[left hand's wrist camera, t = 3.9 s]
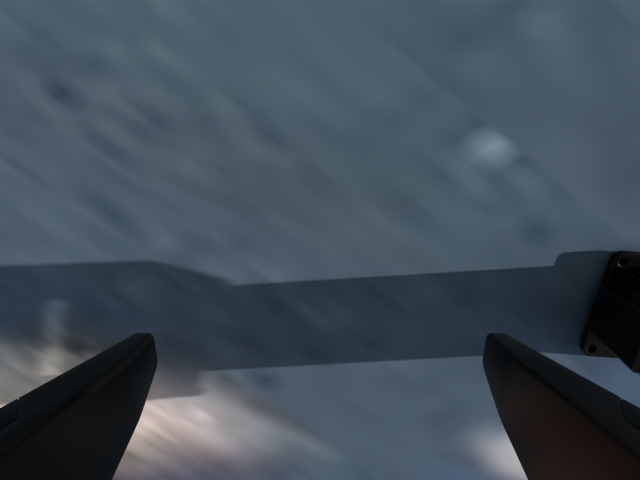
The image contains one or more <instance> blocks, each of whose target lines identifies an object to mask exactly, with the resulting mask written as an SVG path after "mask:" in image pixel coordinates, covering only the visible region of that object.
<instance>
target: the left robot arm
mask: <svg viewBox="0 0 640 480" xmlns="http://www.w3.org/2000/svg"><path fill="white" fill-rule="evenodd" d="M622 258H624V260H623V261H622V262H621V263H619V261H620V260H621V259H622ZM591 345H592V347H590V348H589V346H591ZM580 349H581V350H582V351H583V352H584V353H585V354H586V355H588V356H597V357H611V358H619V359H620V360H621V361H622V362H623V363H624V364H625V365H626V366H627V367H628V368H629V369H630V370H631V371H632V372H634V373H638V374H639V375H640V252H631V251H618V252H615V253H614V254H613V255H612V256H611V258H610V260H609V263H608V266H607V269H606V272H605V274H604V277H603V280H602V283H601V286H600V289H599V291H598V294H597V296H596V299H595V302H594V305H593V308H592V311H591V313H590V316H589V319H588V322H587V325H586V328H585V331H584V334H583V337H582V340H581V343H580ZM156 367H157V355H156V348H155V342H154V337H153V335H152V334H151V333H136V334H134V335H132V336H130V337H129V338H127V339H125V340H123V341H121V342H119V343H118V344H116V345H114V346H112V347H110V348H109V349H107V350H105V351H103V352H101V353H100V354H98V355H96V356H94V357H92V358H90V359H89V360H87V361H85V362H83V363H81V364H80V365H78V366H76V367H74V368H72V369H71V370H69V371H67V372H65V373H63V374H61V375H60V376H58V377H56V378H54V379H52V380H51V381H49V382H47V383H45V384H43V385H42V386H40V387H38V388H36V389H34V390H33V391H31V392H29V393H27V394H25V395H23V396H22V397H20V398H19V400H18V399H16V400H14V401H12V402H11V403H9V404H7V405H5V406H3V407H2V408H0V480H112V478H113V476H114V474H115V472H116V469H117V467H118V465H119V463H120V461H121V458H122V456H123V454H124V452H125V450H126V448H127V445H128V443H129V441H130V439H131V437H132V435H133V432H134V430H135V428H136V426H137V423H138V421H139V419H140V416H141V413H142V411H143V408H144V405H145V401H146V398H147V395H148V392H149V389H150V386H151V383H152V380H153V377H154V374H155V371H156ZM483 367H484V371H485V374H486V377H487V380H488V383H489V386H490V389H491V392H492V395H493V398H494V401H495V405H496V408H497V411H498V413H499V416H500V419H501V421H502V423H503V426H504V428H505V430H506V432H507V435H508V437H509V439H510V441H511V443H512V445H513V448H514V450H515V452H516V454H517V456H518V458H519V461H520V463H521V465H522V467H523V469H524V472H525V474H526V476H527V478H528V480H640V408H638V407H637V406H635V405H633V404H631V403H629V402H628V401H626V400H624V399H622V400H621V398H620V397H618V396H617V395H615V394H613V393H611V392H609V391H608V390H606V389H604V388H602V387H600V386H598V385H597V384H595V383H593V382H591V381H589V380H588V379H586V378H584V377H582V376H580V375H579V374H577V373H575V372H573V371H571V370H569V369H568V368H566V367H564V366H562V365H560V364H559V363H557V362H555V361H553V360H551V359H549V358H548V357H546V356H544V355H542V354H540V353H539V352H537V351H535V350H533V349H531V348H530V347H528V346H526V345H524V344H522V343H521V342H519V341H517V340H515V339H513V338H511V337H510V336H508V335H506V334H504V333H489V334H488V335H487V337H486V342H485V348H484V355H483Z"/></svg>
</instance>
